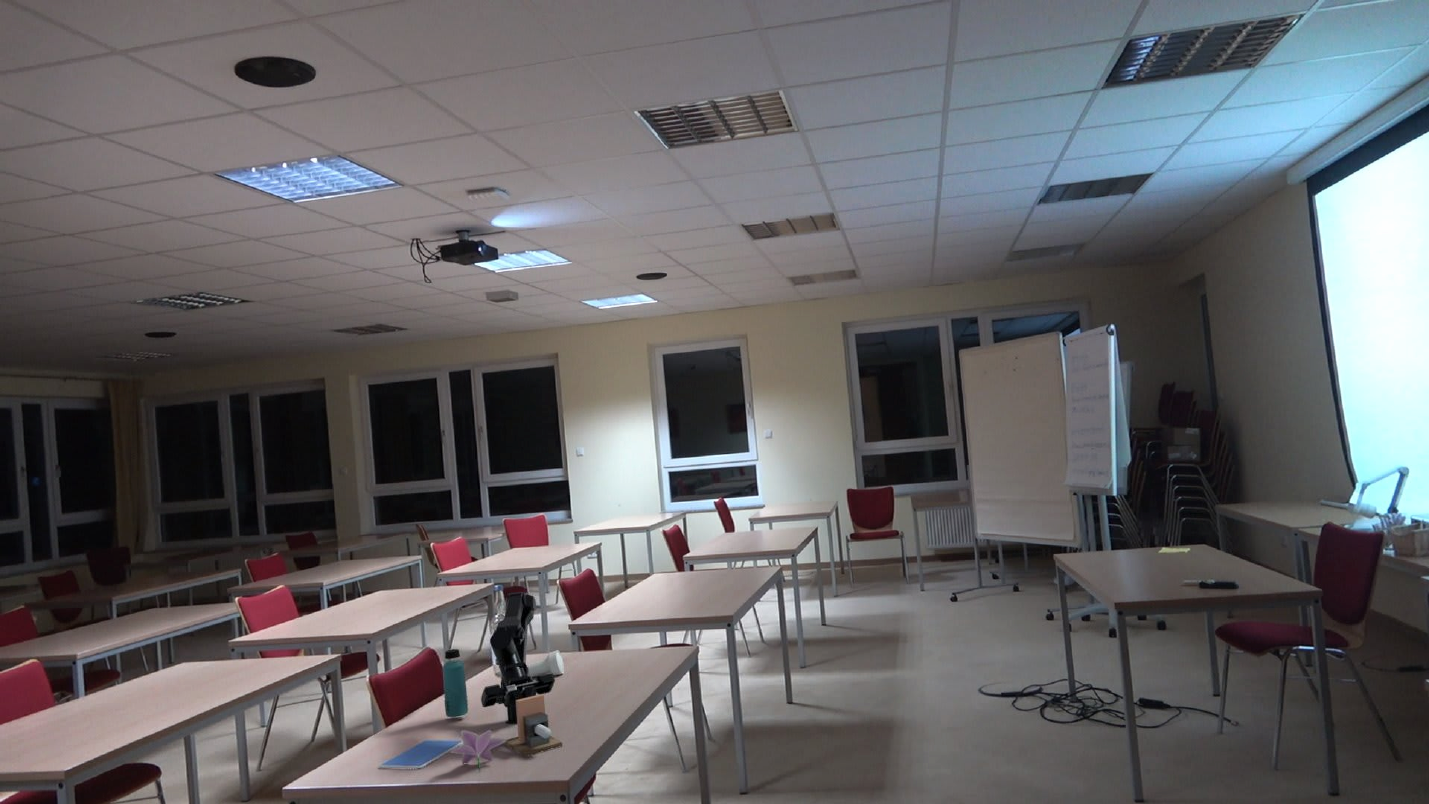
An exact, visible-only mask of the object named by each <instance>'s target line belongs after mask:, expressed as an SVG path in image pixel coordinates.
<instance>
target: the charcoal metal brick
mask: <svg viewBox="0 0 1429 804" xmlns="http://www.w3.org/2000/svg"><path fill="white" fill-rule="evenodd" d="M538 723H539V724H541V725H543V726H545V727H547V728H549V715H548V714H547V713H546V712H545V713H543V712H539V713H535V714H531V715H527V716H523V724H524V738H525V745H526V746H528V747H530V748H534V747H537V746H541V745H544V744H548V743H550V740H549V737H548V738H543V737H541V736H540V735H538V734H536V733H534V729H533V725H535V724H538ZM549 729H550V728H549Z"/></svg>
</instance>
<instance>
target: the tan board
mask: <svg viewBox="0 0 1429 804" xmlns="http://www.w3.org/2000/svg"><path fill="white" fill-rule="evenodd" d="M506 740H507V741H506V742H505V743H503V744H504V745H505V746H506V747H508V746H509V747H508V748H510V749H511V748H512V750H513V751H515V752H516V751H517V752H516V753H518V752H519V753H518V754H520V755H521V754H522V755H521V756H523V757H524V756H525V758H526V757H529V756H528V755H530V756H532V755H531V754H533V755H536V753H537V754H540V753H542V752H541V751H544V752H547V751H549V750H548V749H551V748H554V749H557V748H556V747H558V748H560V747H559V746H561V747H563V741H561V740H558V739H557V738H555V737H553V736H551V735H550V737H549V740H550V743H548V744H544V745H541V746H537V747H534V748H530V747H528V746H526V745H525V743H522V744H521V743H519V739H518V736H515V737H512V738H507V739H506ZM546 750H547V751H546ZM551 750H552V749H551ZM539 752H540V753H539Z"/></svg>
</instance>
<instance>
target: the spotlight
mask: <svg viewBox="0 0 1429 804" xmlns="http://www.w3.org/2000/svg"><path fill="white" fill-rule="evenodd" d="M563 659H564V658H563V657H562V655H561V652H560V650H558V649H557V650H553V651H550V652H549V653H548V655H547V657H546V658H543V659H540V660H538V661H535V662H531V663H528V665H527V667H528V669H529V673H530V676H532V677H533V678H535V677H536V678H537V677H538V675H542V674H547V673H551V674H552V675H553V676H554V677H556V675H557V676H560V675H563V674H564V672H565V663H564V660H563Z"/></svg>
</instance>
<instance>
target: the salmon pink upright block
mask: <svg viewBox="0 0 1429 804" xmlns="http://www.w3.org/2000/svg"><path fill="white" fill-rule="evenodd" d="M545 707H546V706H545V694H540V695H539V694H536V696H532V697H528V698H524V699H520V700H516V712H517V723H516V724H517V725H516V726H517V735H518V736H517V737H518V739H519V743H521V744H522V743H525V738H524V724H523V716H527V715H531V714H535V713H539V712H543V713H545V714H546V710H545V709H546V708H545ZM533 729H534V733H536V734H538V735H540V736H541V737H543V738H548V737H550V736H551V735H552V730H551V729H550V728H547V727H545V726H543V725H541V724H539V723H538V724H535V725H533Z"/></svg>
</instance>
